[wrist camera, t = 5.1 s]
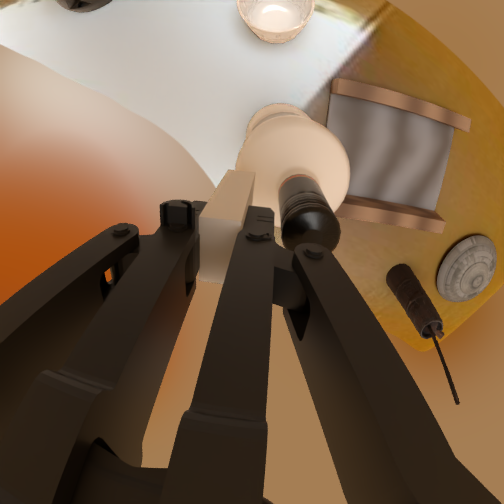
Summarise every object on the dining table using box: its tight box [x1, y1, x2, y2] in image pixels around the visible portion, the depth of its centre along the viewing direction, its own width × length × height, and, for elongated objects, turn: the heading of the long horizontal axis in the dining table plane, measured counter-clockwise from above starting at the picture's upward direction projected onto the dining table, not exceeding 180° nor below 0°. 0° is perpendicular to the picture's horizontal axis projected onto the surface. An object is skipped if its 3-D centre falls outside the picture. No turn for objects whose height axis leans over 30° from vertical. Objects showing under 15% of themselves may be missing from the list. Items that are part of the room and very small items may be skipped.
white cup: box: [237, 0, 314, 43], centre depth 25 cm, size 8×8×10 cm
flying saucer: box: [437, 236, 497, 302], centre depth 43 cm, size 15×15×6 cm
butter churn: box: [386, 264, 460, 405], centre depth 36 cm, size 9×10×28 cm
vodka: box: [235, 103, 350, 252], centre depth 25 cm, size 9×9×30 cm
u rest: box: [326, 78, 471, 234], centre depth 35 cm, size 20×18×5 cm
